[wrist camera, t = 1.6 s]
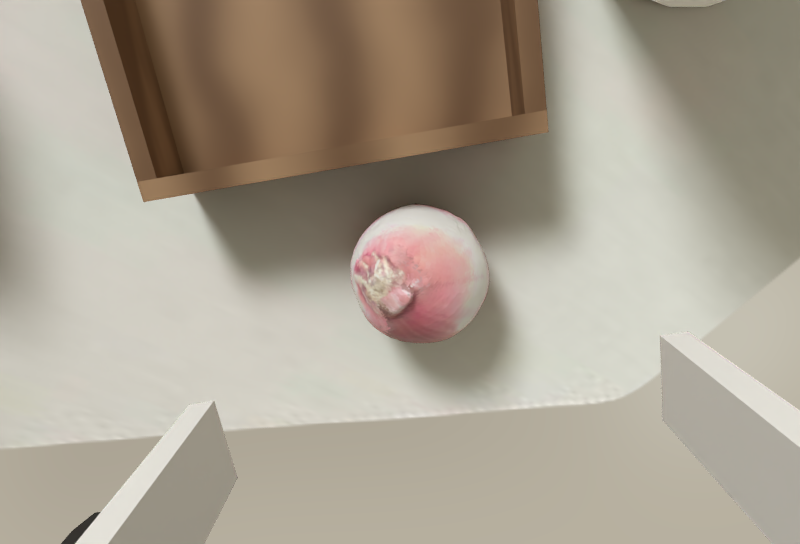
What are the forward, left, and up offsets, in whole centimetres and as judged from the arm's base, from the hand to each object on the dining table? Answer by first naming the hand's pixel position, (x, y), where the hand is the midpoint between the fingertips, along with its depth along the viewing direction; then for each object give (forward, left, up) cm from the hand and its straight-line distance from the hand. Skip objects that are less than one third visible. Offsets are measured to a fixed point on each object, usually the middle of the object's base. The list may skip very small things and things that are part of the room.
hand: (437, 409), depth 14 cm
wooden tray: (-3, +14, -17) cm, 22 cm away
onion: (0, 0, -17) cm, 17 cm away
